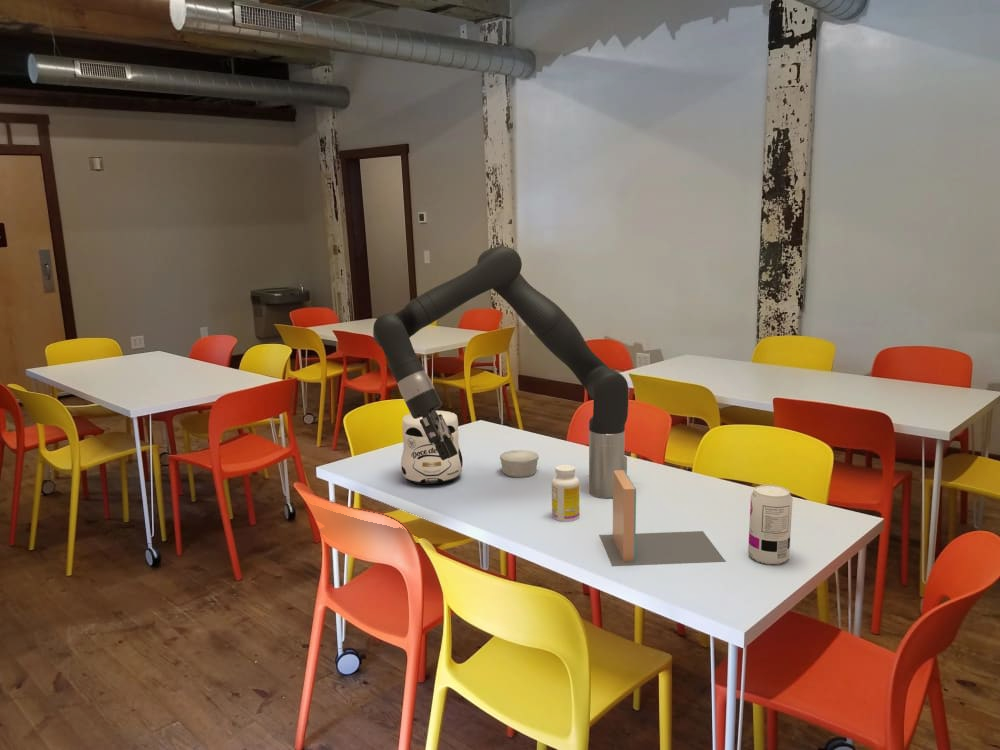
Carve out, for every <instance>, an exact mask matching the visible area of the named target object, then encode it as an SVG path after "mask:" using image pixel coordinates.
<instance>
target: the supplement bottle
mask: <svg viewBox="0 0 1000 750" xmlns="http://www.w3.org/2000/svg"><path fill="white" fill-rule="evenodd" d="M575 473H576V467H575V466H573V465H572V464H571V465H570V464H560V465H557V466H555V475H556V476H553V478H552V479H551V511H552V512H551V515H552V519H553V520H555V521H558V522H562V523H563V522H564V523H569V522H570V523H571V522H574V521H577V520H578V519H579V518H580V479H579V478H578V476H575Z"/></svg>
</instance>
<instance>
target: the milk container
mask: <svg viewBox="0 0 1000 750" xmlns="http://www.w3.org/2000/svg"><path fill="white" fill-rule="evenodd" d="M436 412H437V414H438V415H439V414H441V415H442V416H443V419H444V421H445V423H446V424H447V426H448V428H449V430H450V432H451V434H452V436H451V438H452V439H450V440H452V442H453V444H454V446H455V448H456V450H457V452H458V453H457V455H455V456H453V457H449V458H447V459H445V460H441V458H440V456H439V454H438V452H437V450H436V447H435V446H436V445H435V446H433V445H432V444H431V443H430V442H429V440H428V438H427V436H426V433H425V431H424V429H423V427H422V425H421V423H420V420H421V419H423V418H422V417H420V418H417V419H414V418H413V417H412V415H411V413H408V414H406V415H404V416H403V418H402V423H401V424H402V427H401V428H402V440H403V441H402V443H403V450H402V455H401V459H400V468H401V471H402V476H403V477H404V478H405V479H406V480H408V481H409V482H412V483H415V484H419V485H439V484H444V483H445V484H446V483H448V482H450V481H454V480H455V479H457V478H458V477H459V476H460V475H461V473H462V471H463V455H462V452H461V447H460V443H459V437H460V436H459V433H460V432H459V420H458V415H457V414H455V413H454V412H451V411H445V410H436ZM430 433H431V432H430Z"/></svg>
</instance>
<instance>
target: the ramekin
mask: <svg viewBox="0 0 1000 750" xmlns="http://www.w3.org/2000/svg"><path fill="white" fill-rule="evenodd" d="M499 455H500V456H499V460H500V463H501V470H502V472H503V474H505V475H506V476H507V477H511V478H527V477H526V476H528V477H531V476H533V475H534V474H535V473H536V471H537V469H538V468H537V467H538V460H539V457H540V456H539V454H538V452H535V451H532V450H525V449H515V450H508V451H507V450H506V451H504V452H502V453H500V454H499Z"/></svg>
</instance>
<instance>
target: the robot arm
mask: <svg viewBox="0 0 1000 750" xmlns="http://www.w3.org/2000/svg"><path fill="white" fill-rule="evenodd" d="M522 264H523V263H522V258H521V256H520V254H519V253H518V251H516V250H515V249H513V248H512V247H508V246H504V245H502V246H495V247H491V248H489V249H486V250H484V251H483V252H482V253H481V254H480V255H479V257H478V258H477V262H476V264H475V266H473V267H471V268H470V269H469V270H466V271H465V272H464V273H462V274H460V275H458V276H456V277H454V278H452V279H450V280H448V281H445V282H443V283H441V284H439V285H437V286H434V287H433V288H431V289H429V290H428V291H426V292H424V293H422V294H420V295H418V296H417V297H416V298H413V299H412V300H411V301H409V302H408V303H406V305H405V306H404V307H403V308H402V309H401V310H398V312H396V313H394V314H393V313H383V314H381V315H380V316H378V317H377V319H375V321H374V323H373V328H372V329H373V330H372V334H373V335H372V336H373V340H374V342H375V343H376V345H378V347H381V349H382V351H383V352H384V355H385V356H386V359H387V361H388V366H389V369H390V372H391V375H393V378H394V380H395V382H396V384H397V386H398V390H399V392H400V394H401V396H402V399H403V401H404V403H405V405H406V407H407V409H408V411H409V414H411V415H412V417H413V418H414V419H417V418H420V417H422V418H423V419H421V420H420V423H421V425H422V427H423V429H424V431H425V433H426V436H427V438H428V440H429V442H430V443H431V444H432V445H433V446H435V445H436V446H435V447H436V450H437V452H438V454H439V456H440V458H441V460H445V459H447V458H449V457H453V456H455V455H457V453H458V452H457V450H456V448H455V446H454V444H453V442H452V440H450V439H452V438H451V436H452V434H451V432H450V430H449V428H448V426H447V424H446V423H445V421H444V419H443V416H442V415H441V414H439V415H438V414H437V412H436V411H437V410H438V409H440V408H441V407H442V406H443V403H442V400H441V399H440V397H439V396H440V395H439V394H438V393H437V390H436V388H435V386H434V384H433V381H432V380H431V379H430V376H429V375H428V374H427V372H426V371H425V369H424V366H423V365H422V362H421V360H420V358H419V357H418V355H417V353H416V351H415V350H414V348H413V344H412V341H411V339H410V338H411V337H413V336H414V335H415V334H416V333H418V332H419V331H420V330H422V329H423V328H424V329H425V328H426V327H428V326H429V325H431V324H433V323H434V322H436V321H438V320H440V319H441V318H444V317H445V316H446V315H448V314H450V313H451V312H453V311H454V310H456V309H458V308H459V307H460V306H462V305H464V304H465V303H467V302H469V301H471V300H472V299H474V298H476V297H477V296H480V295H481V294H484V293H486V292H488V291H490V290H493V291H495V293H496V294H498V295H499V297H501V298H502V299H503V300H504V301H505V302H507V304H508V305H509V306H511V309H513V311H515V313H516V314H517V316H518V317H519V318H520V319H521V320H522V321H523V323H524V324H525V325H526V326H527V328H529V329H530V331H531V332H532V333H533V334H534V336H536V337H537V339H538V340H540V342H541V343H542V344H543V345H544V347H546V348H547V349H548V350H549V352H551V354H552V355H554V356H555V357H556V358H558V360H559V361H561V363H563V364H564V365H566V366H567V367H568V369H570V371H571V372H572V373H573V374H574V376H575V378H576V379H578V381H579V382H580V384H581V385H582V387H583V388H584V389H585V391H586V393H587V394H588V395H589V397H591V399H593V406H592V407H593V413H592V417H590V418H589V422H588V440H589V441H588V493H589V494H590V495H592V496H594V497H596V498H600V499H601V498H603V499H613V471H616V470H625V472H626V474H627V475H628V457H627V456H626V455H625V449H626V448H625V447H626V446H625V443H626V442H625V441H626V440H625V439H626V438H625V437H626V429H625V427H626V423H627V420H628V415H629V414H628V413H629V398H630V396H629V395H630V394H629V393H630V392H629V385H628V384H629V383H628V381H627V379H626V377H625V376H624V375H622V374H621V373H620V372H618V371H616V370H614V369H612V368H611V367H610V366H608V365H607V364H606V363H605V362H604V361H602V359H601V358H599V357H598V356H597V355H596V354H595V353H594V352H593V351H592V350H591V348H590V346H589V345H588V344H587V342H586V341H585V338H584V336H583V335H582V333H581V332H580V330H579V328H578V327H577V325H576V324H575V323H574V322H573V320H572V319H571V318H570V317H569V316H568V315H567V314H566V313H565V311H563V309H562V308H561V307H560V306H559V305H558V304H556V303H555V302H553V300H551V299H550V298H548V297H547V296H546V295H545V294H543V293H541V292H540V291H539V290H537V289H535V288H534V287H533V286H532V285H531V284H530V283H529V282H527V280H526V279H525V278H524V276H523V275H522V273H521V271H522V268H523V267H522V266H523V265H522ZM430 432H431V433H430Z"/></svg>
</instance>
